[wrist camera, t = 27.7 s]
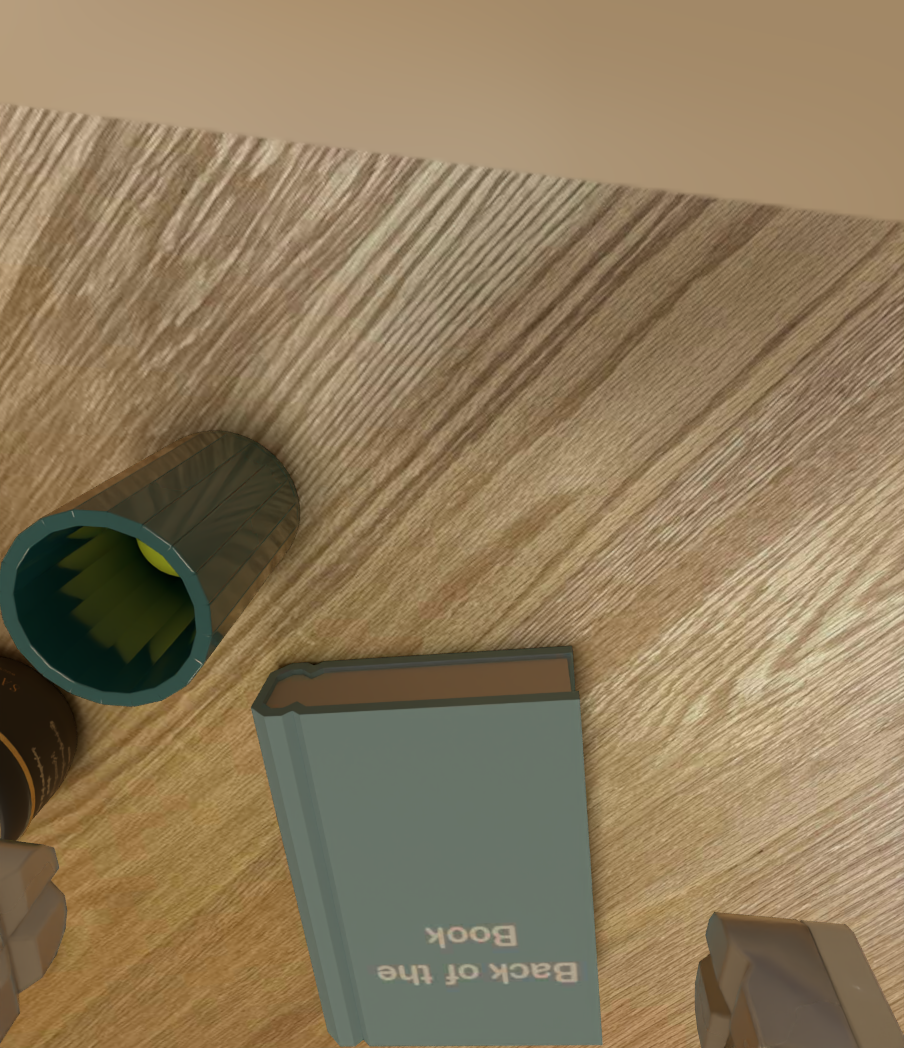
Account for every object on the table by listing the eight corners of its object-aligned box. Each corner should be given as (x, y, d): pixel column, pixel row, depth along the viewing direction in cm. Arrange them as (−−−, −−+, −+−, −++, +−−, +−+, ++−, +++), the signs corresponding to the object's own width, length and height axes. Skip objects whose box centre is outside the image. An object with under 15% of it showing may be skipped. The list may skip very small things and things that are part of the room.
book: (593, 965, 47) (602, 1045, 42) (342, 969, 49) (324, 1046, 44) (571, 645, 39) (579, 699, 35) (275, 664, 41) (245, 717, 36)
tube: (141, 426, 37) (-21, 504, 26) (297, 434, 37) (201, 517, 25) (157, 571, 40) (17, 698, 28) (302, 580, 39) (218, 714, 28)
